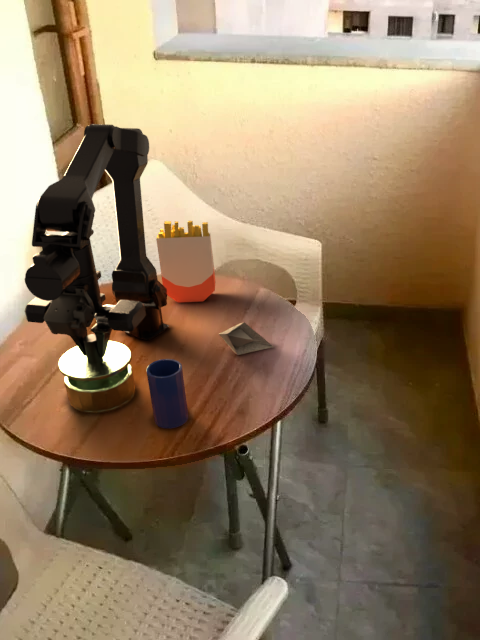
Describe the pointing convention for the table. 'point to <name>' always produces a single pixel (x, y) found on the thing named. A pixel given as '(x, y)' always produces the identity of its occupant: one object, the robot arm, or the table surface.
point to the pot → (101, 392)
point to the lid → (94, 360)
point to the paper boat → (244, 339)
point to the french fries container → (186, 262)
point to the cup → (167, 393)
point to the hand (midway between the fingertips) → (94, 355)
